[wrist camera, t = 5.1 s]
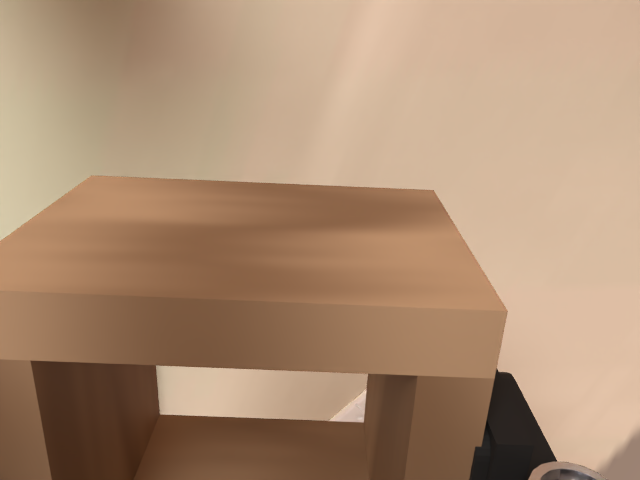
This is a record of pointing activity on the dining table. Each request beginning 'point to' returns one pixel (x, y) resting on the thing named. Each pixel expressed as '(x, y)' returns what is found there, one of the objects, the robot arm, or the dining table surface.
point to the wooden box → (241, 330)
